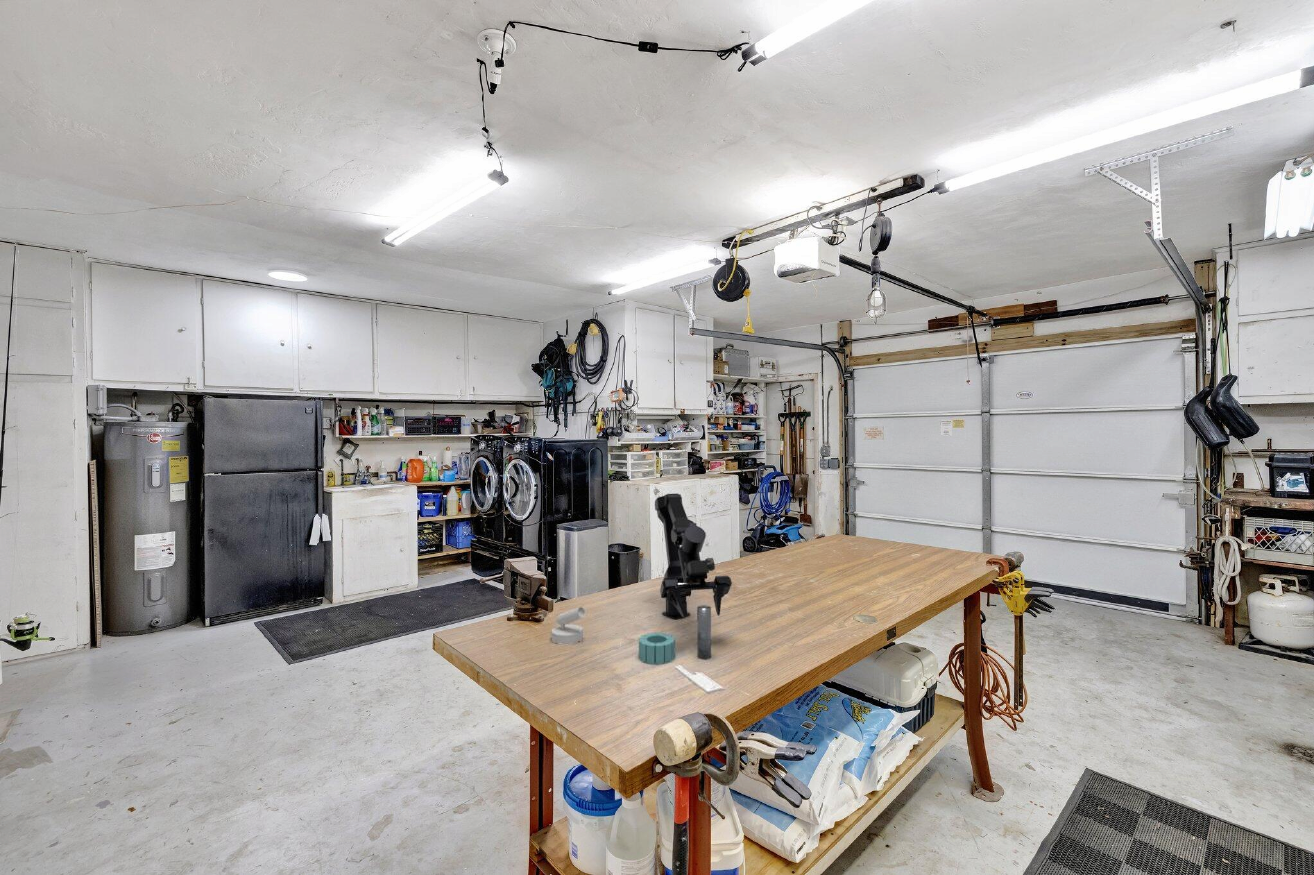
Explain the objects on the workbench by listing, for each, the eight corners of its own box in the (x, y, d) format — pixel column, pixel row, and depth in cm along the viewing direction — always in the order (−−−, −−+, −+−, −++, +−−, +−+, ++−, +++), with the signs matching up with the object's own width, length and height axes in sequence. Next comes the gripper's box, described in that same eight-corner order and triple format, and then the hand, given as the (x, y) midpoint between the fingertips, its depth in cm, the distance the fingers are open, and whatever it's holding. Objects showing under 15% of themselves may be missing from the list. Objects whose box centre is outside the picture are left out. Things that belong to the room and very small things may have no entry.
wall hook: (573, 612, 147) (544, 606, 152) (573, 647, 147) (545, 640, 152) (592, 603, 154) (565, 598, 159) (593, 637, 154) (565, 631, 159)
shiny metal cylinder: (694, 656, 141) (694, 607, 141) (704, 652, 143) (704, 604, 143) (704, 660, 138) (703, 610, 138) (714, 656, 140) (713, 607, 140)
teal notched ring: (632, 655, 141) (631, 638, 141) (659, 647, 147) (659, 630, 147) (654, 667, 134) (654, 648, 134) (681, 657, 140) (681, 639, 140)
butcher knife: (692, 665, 136) (692, 661, 136) (726, 690, 123) (726, 686, 123) (674, 669, 134) (674, 664, 134) (707, 695, 120) (707, 690, 120)
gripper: (661, 548, 146) (670, 602, 135) (729, 545, 150) (743, 598, 139) (656, 571, 154) (664, 624, 143) (721, 568, 157) (733, 619, 146)
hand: (701, 616), depth 143 cm, fingers open, 9 cm apart
